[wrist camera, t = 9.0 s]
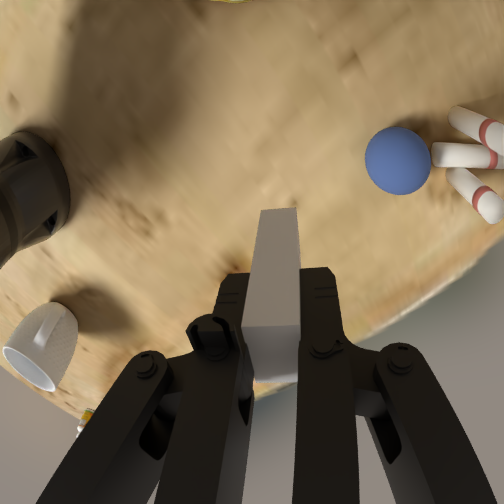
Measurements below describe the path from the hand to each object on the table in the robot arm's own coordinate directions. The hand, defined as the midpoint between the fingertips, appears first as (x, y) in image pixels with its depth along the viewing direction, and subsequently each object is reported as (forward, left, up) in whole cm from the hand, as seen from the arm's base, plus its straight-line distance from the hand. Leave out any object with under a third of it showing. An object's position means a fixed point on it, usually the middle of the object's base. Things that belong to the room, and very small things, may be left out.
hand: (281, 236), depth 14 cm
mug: (-40, -22, -17) cm, 49 cm away
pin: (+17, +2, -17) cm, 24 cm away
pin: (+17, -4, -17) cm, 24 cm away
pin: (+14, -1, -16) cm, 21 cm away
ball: (+10, -1, -14) cm, 17 cm away
